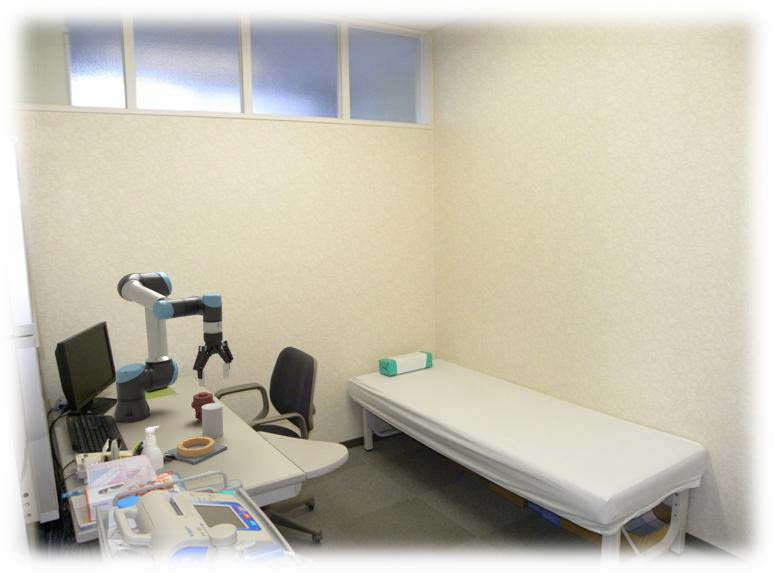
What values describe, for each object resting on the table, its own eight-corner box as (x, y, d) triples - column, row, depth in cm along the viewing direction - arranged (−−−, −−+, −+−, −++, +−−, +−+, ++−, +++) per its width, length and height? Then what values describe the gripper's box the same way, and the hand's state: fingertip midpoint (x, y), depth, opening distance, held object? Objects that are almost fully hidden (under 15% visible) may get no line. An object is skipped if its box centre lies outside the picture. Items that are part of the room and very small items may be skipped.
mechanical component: (219, 417, 246) (208, 424, 237) (199, 415, 248) (187, 423, 239) (218, 390, 245) (207, 397, 235) (198, 389, 247) (186, 395, 237)
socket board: (164, 455, 205) (164, 446, 205) (197, 440, 219) (197, 432, 219) (194, 464, 198) (194, 455, 197) (227, 448, 212) (226, 440, 211)
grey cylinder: (215, 429, 232) (215, 401, 231) (227, 433, 227) (226, 406, 225) (198, 434, 226) (197, 406, 224) (209, 439, 220) (208, 411, 219)
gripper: (196, 337, 210) (198, 391, 212) (241, 327, 232) (242, 375, 234) (182, 336, 213) (184, 388, 215) (227, 325, 235) (229, 373, 238)
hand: (214, 382), depth 225 cm, fingers open, 13 cm apart
